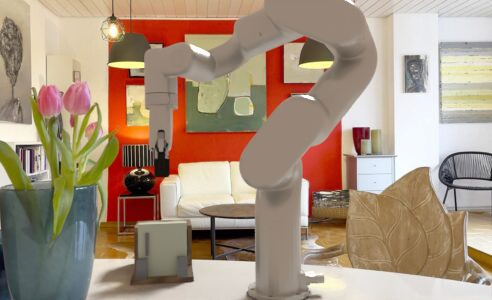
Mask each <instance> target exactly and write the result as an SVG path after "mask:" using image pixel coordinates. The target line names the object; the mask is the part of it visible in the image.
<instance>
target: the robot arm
mask: <svg viewBox="0 0 492 300" xmlns="http://www.w3.org/2000/svg"><path fill="white" fill-rule="evenodd" d="M302 37H306V38H309V39H311V40H314V41H316V42H318V43H321V44H323V45H325V47H326V48H327V49H328V50H329V51H330V52H331V54H332V55H333V57H334V58H333V62H332V64H331V66H330V67H328V68H327V69H326V71H324V72H323V73H322V74H321V76H320V77H319V78H318V79H317V81H316V82H315V83H314V85H313V86H312V87H311V88H310V89H309V91H308V92H307V93H306V94H297V95H292V96H290V97H288V98H286V99H284V100H283V101H282V102H281V103H280V104H279V105H278V106H277V107H276V108H275V109H274V110H273V111H272V113H271V114H270V115H269V116H268V117H267V119H266V120H265V121H264V123H263V124H262V125H261V126H260V128H259V129H258V130H257V132H255V134H254V136H253V137H252V138H251V140H250V141H249V142H248V143H247V145H245V147H244V149H243V151H242V152H241V155H240V158H239V163H238V167H239V168H238V170H239V174H240V176H241V178H242V180H243V182H244V183H245V184H247V185H248V186H249V187H251V188H252V189H255V191H256V192H255V201H254V203H255V204H254V232H255V233H254V244H255V245H254V253H255V255H254V258H255V259H254V260H255V261H254V263H255V264H254V265H255V266H254V267H255V269H254V270H255V272H254V273H255V275H254V276H255V281H254V282H252V283H251V284H249V285H248V289H247V293H248V295H249V296H250V298H253V299H255V300H305V299H306V298H307V297H308V296H309V295H310V288H309V286H310V284H315V285H316V284H324V283H325V275H324V274H323V273H315V272H314V271H310V272H309V271H307V272H305V271H304V270H302V243H301V242H302V238H301V237H302V236H301V235H302V229H301V228H302V227H301V226H302V225H301V224H302V223H301V222H302V221H301V218H302V214H301V213H302V212H301V211H302V209H301V208H302V205H301V204H302V186H303V175H304V174H303V171H304V169H303V161H302V157H304V155H305V154H306V153H307V152H308V150H309V149H310V148H311V147H316V146H318V145H320V144H322V143H324V142H325V140H327V139H328V138H329V137H330V134H331V133H332V132H333V130H334V129H335V127H336V126H337V125H338V124H339V123H340V122H341V120H342V119H343V118H344V117H345V116H346V114H347V113H348V112H349V111H350V109H351V108H352V106H353V105H354V104H355V103H356V102H357V100H358V99H359V98H360V97H361V96H362V94H363V92H365V90H366V89H367V88H368V87H369V85H370V83H371V82H372V80H373V78H374V75H375V73H376V70H377V67H378V50H377V46H376V43H375V41H374V38H373V34H372V32H371V30H370V27H369V25H368V22H367V19H366V16H365V14H364V12H363V10H362V8H360V7H359V6H358V5H357V4H356V3H355V2H354V1H353V2H352V1H351V0H264V1H263V8H261V9H257V10H255V11H253V12H251V13H248V14H247V15H244V16H241V17H240V18H238V19H237V20H236V21H235V22H234V26H233V32H232V35H231V37H230V38H229V39H227V40H226V41H225V42H223V43H221V44H219V45H218V46H214V47H213V48H210V49H208V50H204V49H202V48H201V47H199V46H195V45H193V44H191V43H189V42H184V41H183V42H182V41H181V42H177V43H174V44H172V45H169V46H165V47H154V48H153V47H152V48H149V49H147V50H146V51H145V52H144V57H143V58H144V60H143V61H144V62H143V63H144V64H143V65H144V70H143V71H144V72H143V73H144V110H147V111H149V113H148V114H149V115H148V116H149V117H148V150H149V151H150V152H154V159H153V165H154V166H153V168H154V169H153V171H154V175H153V176H154V177H155V178H170V175H171V169H170V164H171V163H170V161H171V160H170V158H169V156H170V155H169V152H170V151H171V150H172V147H173V146H172V144H173V135H174V134H173V131H174V130H173V128H174V122H173V121H174V117H173V116H174V115H173V111H175V110H176V111H177V110H178V109H179V106H178V104H179V102H178V101H179V100H178V99H179V98H178V93H179V92H178V77H179V78H183V79H187V80H191V81H194V82H197V83H201V84H203V83H209V82H212V81H215V80H217V79H220V78H223V77H225V76H228V75H230V74H232V73H235V72H236V71H238V70H239V69H240V68H242V67H243V66H244V65H246V64H247V63H248V62H249V61H250V60H251V59H252V58H254V57H257V56H259V55H261V54H263V53H266V52H268V51H271V50H274V49H276V48H278V47H281V46H283V45H287V44H288V43H291V42H293V41H296V40H298V39H301V38H302Z"/></svg>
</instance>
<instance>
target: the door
mask: <svg viewBox="0 0 492 300" xmlns="http://www.w3.org/2000/svg"><path fill="white" fill-rule="evenodd" d="M177 256H187V222H186V221H174V222H148V223H138V258H148V277H154V276H171V275H177Z"/></svg>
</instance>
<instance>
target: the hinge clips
mask: <svg viewBox="0 0 492 300" xmlns="http://www.w3.org/2000/svg"><path fill="white" fill-rule="evenodd" d="M179 277H188V256H177V278H179ZM146 279H148V258H137V259H136V280H146Z"/></svg>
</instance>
